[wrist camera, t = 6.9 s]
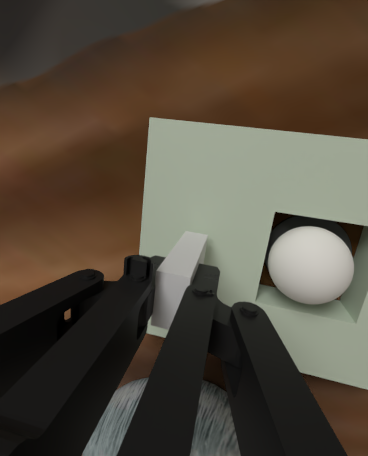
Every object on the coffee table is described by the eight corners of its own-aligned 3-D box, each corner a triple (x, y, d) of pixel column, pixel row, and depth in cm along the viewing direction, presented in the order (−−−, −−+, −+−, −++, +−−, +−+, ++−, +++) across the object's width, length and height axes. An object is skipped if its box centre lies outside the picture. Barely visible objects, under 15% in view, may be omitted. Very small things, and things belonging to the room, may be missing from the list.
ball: (359, 325, 15) (318, 283, 20) (386, 245, 14) (335, 221, 19) (275, 317, 15) (254, 277, 20) (293, 236, 14) (266, 214, 19)
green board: (146, 309, 24) (133, 329, 21) (163, 123, 19) (149, 117, 16) (359, 360, 21) (378, 392, 18) (438, 152, 16) (479, 151, 13)
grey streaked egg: (107, 474, 26) (57, 582, 16) (104, 368, 28) (59, 406, 18) (244, 458, 26) (276, 557, 16) (229, 354, 28) (249, 384, 18)
